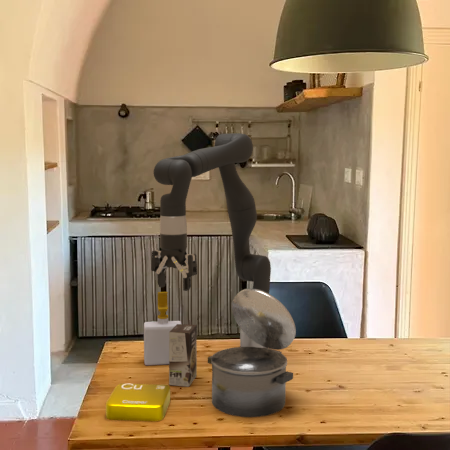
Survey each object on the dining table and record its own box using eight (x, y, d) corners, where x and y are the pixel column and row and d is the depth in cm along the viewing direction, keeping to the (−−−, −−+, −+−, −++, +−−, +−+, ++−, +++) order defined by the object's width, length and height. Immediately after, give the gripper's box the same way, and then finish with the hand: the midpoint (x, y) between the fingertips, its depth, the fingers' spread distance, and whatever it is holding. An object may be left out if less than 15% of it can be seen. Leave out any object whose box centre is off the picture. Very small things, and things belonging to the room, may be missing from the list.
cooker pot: (237, 378, 182) (237, 339, 181) (309, 399, 167) (310, 357, 165) (189, 401, 165) (189, 358, 164) (264, 427, 150) (265, 380, 148)
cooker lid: (241, 341, 178) (246, 335, 180) (300, 356, 166) (305, 349, 168) (224, 286, 169) (229, 280, 171) (284, 297, 157) (290, 291, 159)
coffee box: (189, 387, 175) (189, 333, 173) (168, 385, 176) (168, 331, 174) (197, 375, 184) (197, 324, 182) (177, 374, 185) (176, 323, 183)
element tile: (104, 421, 154) (103, 403, 153) (117, 397, 168) (117, 380, 168) (162, 423, 153) (162, 405, 152) (171, 399, 168) (171, 382, 167)
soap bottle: (144, 366, 192) (143, 293, 189) (144, 359, 198) (143, 289, 196) (182, 364, 194) (182, 292, 191) (181, 357, 200) (181, 288, 198)
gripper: (202, 231, 167) (202, 289, 170) (161, 228, 175) (162, 283, 177) (186, 235, 161) (187, 294, 163) (144, 231, 169) (145, 288, 171)
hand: (174, 288), depth 170 cm, fingers open, 8 cm apart
